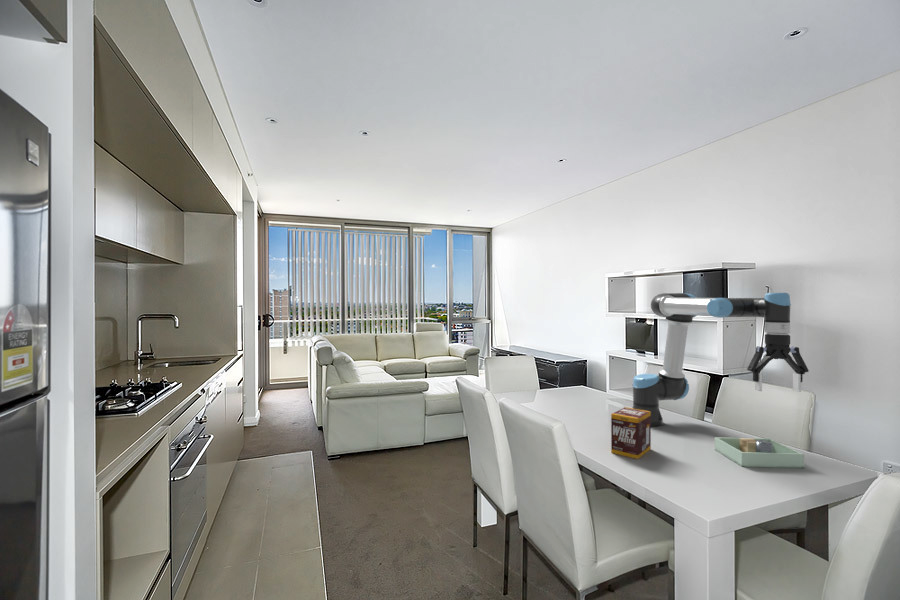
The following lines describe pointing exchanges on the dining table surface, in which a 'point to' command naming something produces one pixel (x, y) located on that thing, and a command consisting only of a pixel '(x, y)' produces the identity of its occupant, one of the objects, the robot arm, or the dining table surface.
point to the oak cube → (747, 445)
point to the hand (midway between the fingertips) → (777, 390)
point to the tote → (760, 454)
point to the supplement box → (631, 432)
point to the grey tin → (763, 446)
